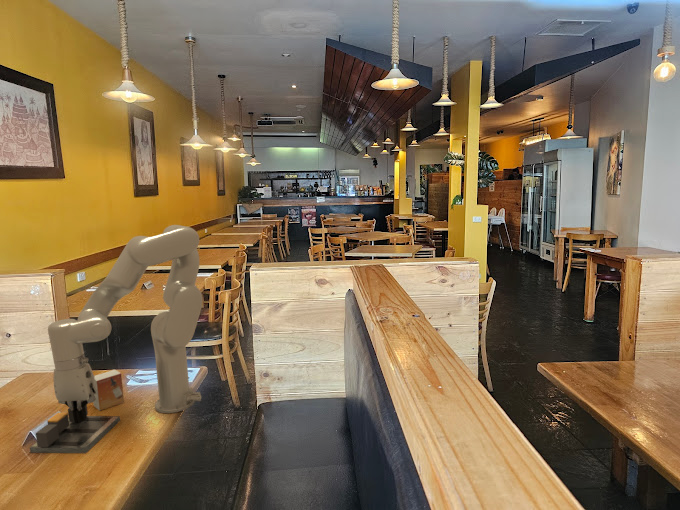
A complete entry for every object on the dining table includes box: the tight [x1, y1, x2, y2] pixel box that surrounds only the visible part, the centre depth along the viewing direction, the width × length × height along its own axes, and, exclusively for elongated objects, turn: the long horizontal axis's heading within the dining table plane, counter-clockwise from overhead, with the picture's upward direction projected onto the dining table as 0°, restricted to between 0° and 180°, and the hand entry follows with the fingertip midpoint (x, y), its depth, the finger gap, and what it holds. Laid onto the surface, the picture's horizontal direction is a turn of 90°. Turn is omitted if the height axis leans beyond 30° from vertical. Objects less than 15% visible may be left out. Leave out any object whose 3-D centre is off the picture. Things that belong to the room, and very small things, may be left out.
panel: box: [29, 415, 121, 454], centre depth 129 cm, size 16×17×2 cm
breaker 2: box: [67, 404, 89, 422], centre depth 135 cm, size 3×4×4 cm
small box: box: [92, 369, 125, 412], centre depth 147 cm, size 8×6×10 cm
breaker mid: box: [46, 412, 69, 433], centre depth 128 cm, size 3×4×4 cm
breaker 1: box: [35, 423, 59, 447], centre depth 122 cm, size 3×4×4 cm
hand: (80, 420), depth 129 cm, fingers closed
